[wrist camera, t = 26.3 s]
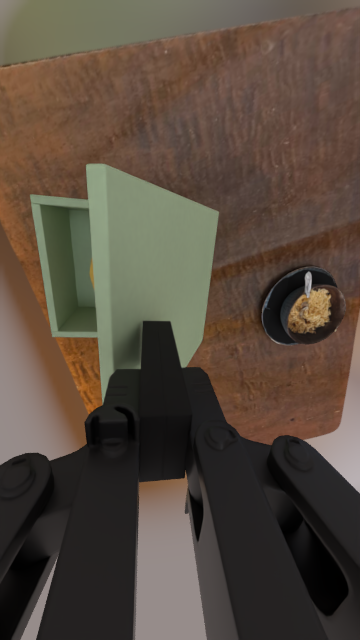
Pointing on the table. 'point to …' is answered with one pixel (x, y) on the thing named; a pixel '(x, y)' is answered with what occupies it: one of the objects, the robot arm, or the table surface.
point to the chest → (66, 264)
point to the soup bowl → (303, 307)
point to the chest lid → (146, 265)
